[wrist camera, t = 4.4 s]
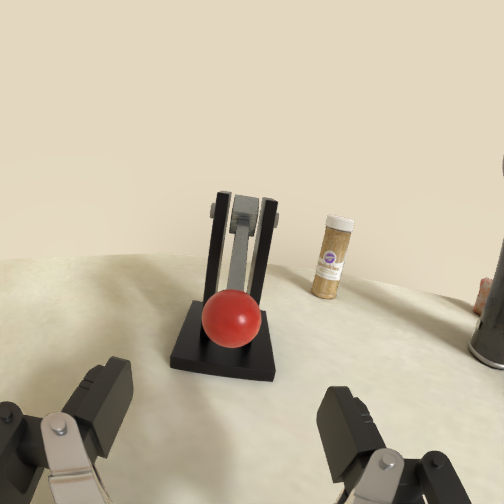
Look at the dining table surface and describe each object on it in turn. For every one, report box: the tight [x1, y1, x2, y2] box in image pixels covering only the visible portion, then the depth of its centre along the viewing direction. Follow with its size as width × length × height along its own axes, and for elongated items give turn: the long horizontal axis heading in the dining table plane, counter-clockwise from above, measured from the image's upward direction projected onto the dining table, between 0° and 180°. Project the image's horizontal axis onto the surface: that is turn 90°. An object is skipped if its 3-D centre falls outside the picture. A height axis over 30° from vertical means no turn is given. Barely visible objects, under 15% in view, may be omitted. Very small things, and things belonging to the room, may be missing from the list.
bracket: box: [170, 191, 279, 382], centre depth 26 cm, size 12×9×15 cm
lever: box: [202, 195, 261, 348], centre depth 20 cm, size 14×4×4 cm, turn 2°
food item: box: [473, 278, 493, 315], centre depth 41 cm, size 14×8×10 cm, turn 15°
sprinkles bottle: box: [311, 215, 354, 299], centre depth 44 cm, size 5×5×13 cm
